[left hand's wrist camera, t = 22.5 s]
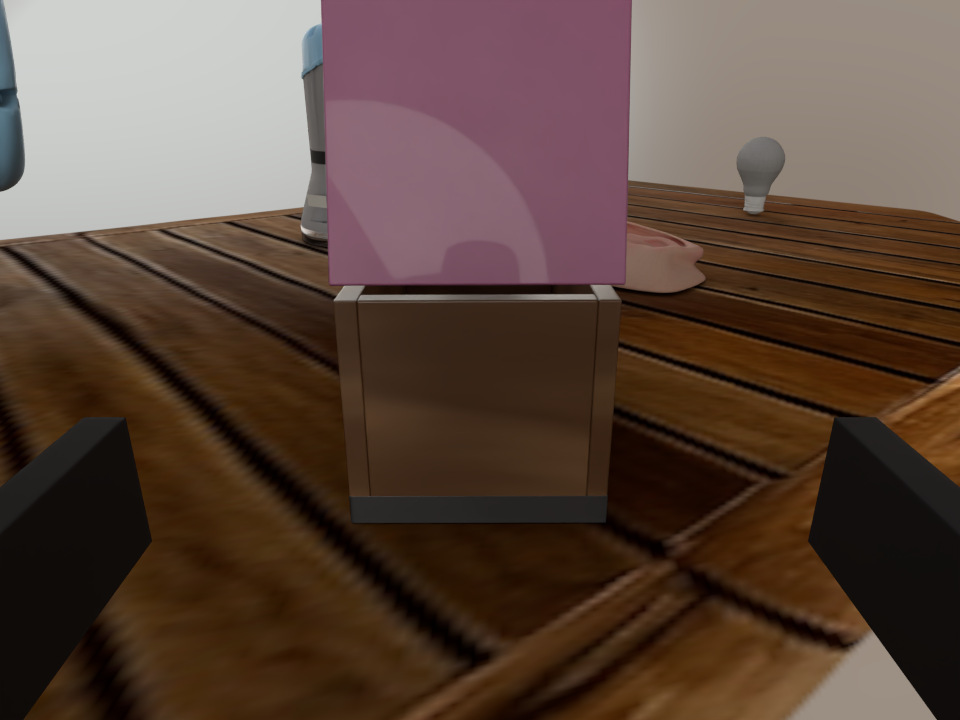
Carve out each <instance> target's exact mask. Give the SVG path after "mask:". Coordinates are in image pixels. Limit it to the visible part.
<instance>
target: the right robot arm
mask: <svg viewBox="0 0 960 720" xmlns="http://www.w3.org/2000/svg"><path fill="white" fill-rule="evenodd" d="M302 60H303V72H302V79H303V80H304V90H305V101H306V112H307V122H308V132H309V143H310V151H311V164H312V173H311V178H310V183H309V187H308V191H307V196H306V200H305V205H304V209H303V214H302V219H301V232H302V239H303V240H304V241H306V242H308V243H310V244H314V245H319V246H326V247H328V231H327V195H326V159H325V124H324V88H323V53H322V23H321V24H318V25H316V26H314V27H312V28H310V29H309V30H308V31H307V32H306V34H305V35H304V37H303V40H302Z"/></svg>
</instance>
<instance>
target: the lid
mask: <svg viewBox="0 0 960 720" xmlns="http://www.w3.org/2000/svg"><path fill="white" fill-rule="evenodd" d="M631 11H632V0H321V16H322V53H323V88H324V124H325V159H326V195H327V231H328V266H329V284H330V285H331V286H417V285H624V284H625V283H626V250H627V203H628V154H629V107H630V60H631V59H630V58H631Z"/></svg>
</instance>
